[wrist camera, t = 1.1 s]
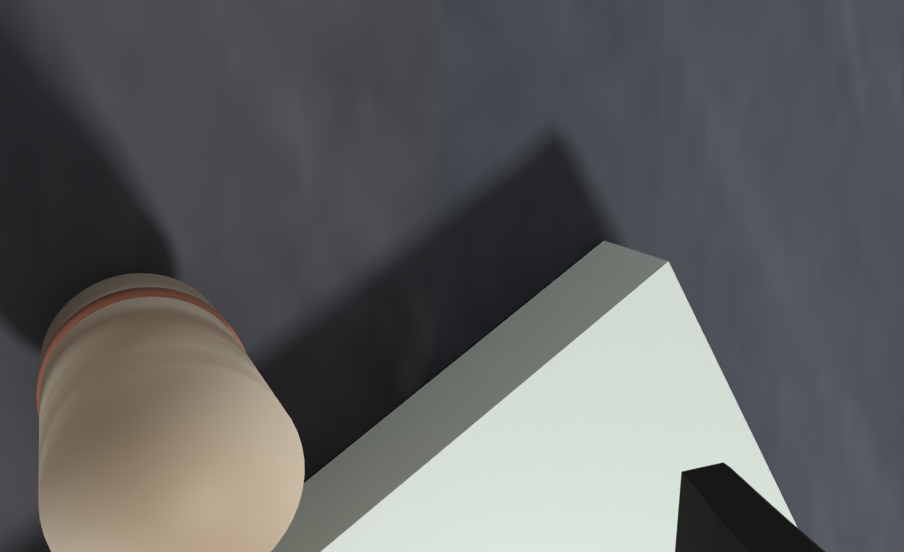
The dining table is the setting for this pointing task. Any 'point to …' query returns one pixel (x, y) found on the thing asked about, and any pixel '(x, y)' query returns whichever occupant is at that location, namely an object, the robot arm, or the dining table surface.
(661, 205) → the dining table surface
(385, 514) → the board
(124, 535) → the peg
